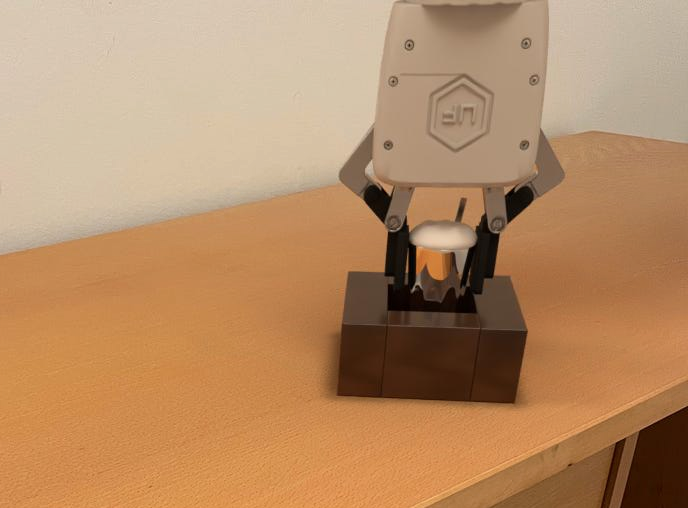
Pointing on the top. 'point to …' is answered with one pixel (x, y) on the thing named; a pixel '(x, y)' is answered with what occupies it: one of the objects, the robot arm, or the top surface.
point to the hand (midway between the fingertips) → (436, 285)
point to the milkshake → (439, 264)
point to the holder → (430, 343)
